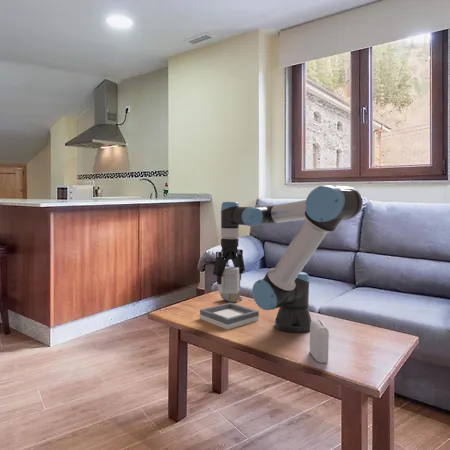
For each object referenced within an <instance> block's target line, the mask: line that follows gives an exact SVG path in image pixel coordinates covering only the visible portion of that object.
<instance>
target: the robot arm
mask: <svg viewBox="0 0 450 450" xmlns="http://www.w3.org/2000/svg"><path fill="white" fill-rule="evenodd" d="M220 207H221V208H220V236H221V238H220V247H221V251H216V252H215V261H214V266H213V272H212V275H213V276H216V284H217V291H218V292H219V291H220V292H223V282H224V277H223V276H222V274H223V272H224V269H225V267H227V263H228V262H229V261H230V260H231V262H232V265H233V267H239V289H241V281H242V274H243V273H244V272H245V270H246V268H245V263H244V262H245V261H244V256H243V254H244V250H243V249H240V248H239V249H238V247H239V230H240V229H239V228H240V225H241V226H246V227H247V226H248V227H256V226H259V225H274V224H278V223H279V224H280V223H287V222H294V221H302V220H304V221H303V222H302V225H301V226H300V227H299V229H298V230H297V233H296V234H295V235H294V237H293V239H292V240H291V242H290V243H289V244H288V246H287V249H286V250H285V251H284V253H283V255H282V256H281V257H280V259H279V260H278V262H277V264H276V266H275V267H271V268H269V270H268V271H267V272H266V274H265V275H264V277H263V278H262V279H258V280H256V281H255V282H254V283H253V285H252V289H251V292H252V296H253V300H254V302H255V304H256V305H257V307H259V308H260V309H261V310H263V311H273V310H275V309H278V311H277V313H276V317H275V320H274V326H275V327H276V329H277V330H280V331H283V332H287V333H293V334H294V333H295V334H298V333H300V334H301V333H306V332H310V323H311V321H312V320H313V319H312V318H311V314H310V310H309V301H310V300H309V295H310V294H309V293H310V276H309V274H308V273H307V272H304V271H303V269H304V267H305V266H306V265H307V263H308V262H309V260H310V259H311V257H312V256H313V254H314V253H315V252H316V250H317V249H318V247H319V245H320V244H321V243H322V241H323V239H325V236H326V235H327V234H328V233H333V232H334V231H335V230H336V229H337V227H338V226H339V224H340V223H341V221H344V220H345V221H346V220H347V221H348V220H351V219H353V218H355V217H357V216H358V215H359V213H360V212H361V210H362V208H363V197H362V195H361V194H360V192H359V191H358V190H357V189H355V188H354V187H352V186H348V185H347V186H346V185H331V184H326V185H325V184H324V185H319V186H317V187H315V188H314V189H312V190H311V191H310V192H309V194H308V195H307V197H306V199H305V200H299V201H291V202H287V203H286V202H285V203H280V204H274V205H268V206H240V204H239V202H238V201H222V203H221V206H220Z"/></svg>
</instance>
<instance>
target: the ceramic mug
mask: <svg viewBox="0 0 450 450" xmlns="http://www.w3.org/2000/svg"><path fill="white" fill-rule="evenodd" d="M219 296H220V298H221V299H222V300H225V301H227V302H228V303H236V302H238V301H239V300H240V301H241V300H243V296H241V294H240V290H239V291H238V293H237V294H234V293H220V295H219Z"/></svg>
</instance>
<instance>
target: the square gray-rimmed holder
mask: <svg viewBox="0 0 450 450" xmlns="http://www.w3.org/2000/svg"><path fill="white" fill-rule="evenodd" d="M259 312H260V311H259V310H256V309H253V308H249V307H247V306H243V305H241V304H237V303H235V302H228V303H223V304H219V305H215V306H211V307H210V306H209V307H207V308H203V309H200V310H199V319H200V320H202V321H205V322H207V323H210V324H213V325H214V326H217V327H220V328H222V329H225V330H232V329H234V328H238V327H242V326H244V325H248V324H251V323H254V322H258V321H259V318H260V317H259V314H260V313H259Z"/></svg>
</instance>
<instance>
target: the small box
mask: <svg viewBox="0 0 450 450" xmlns="http://www.w3.org/2000/svg"><path fill="white" fill-rule="evenodd" d="M222 276H223V277H224V282H223V292H220V291H218V293H234V294H237V293H238V291H239V292H240V288H239V267H234V266H225V269H224V272H223V274H222Z"/></svg>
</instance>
